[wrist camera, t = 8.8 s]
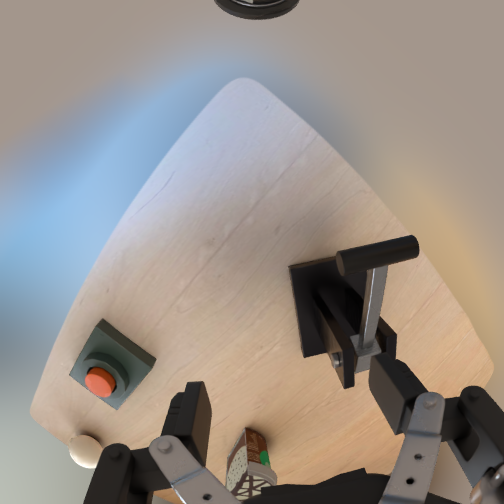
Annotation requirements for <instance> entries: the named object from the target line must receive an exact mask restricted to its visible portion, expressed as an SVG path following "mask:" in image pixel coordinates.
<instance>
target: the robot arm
mask: <svg viewBox="0 0 504 504" xmlns="http://www.w3.org/2000/svg"><path fill="white" fill-rule="evenodd" d="M230 1H231V2H233V3H235V4H237V5H240V6H243V7H248V8H269V7H273V6H277V5H279V4H281V3H283V2H285V1H286V0H230ZM369 388H370V391H371V393H372V395H373V396H374V398H375V400H376V402H377V403H378V405H379V407H380V409H381V410H382V412H383V414H384V416H385V418H386V419H387V421H388V423H389V425H390V426H391V428H392V430H393V432H394V434H395V435H398V434H401V433H404V434H405V439H404V442H403V445H402V447H401V450H400V453H399V456H398V458H397V461H396V464H395V466H394V469H393V471H392V474H391V476H388V475H384V474H376V473H369V474H367V473H366V471H365V468H361V469H358V470H354V471H350V472H346V473H342V474H339V475H337V476H335V477H332V478H330V479H328V480H326V481H323V482H321V483H318V484H316V485H295V484H284V485H276V486H267V487H261V493H260V494H257V495H254V496H252V497H250V498H248V499H246V500H244V501H242V502H240V501H239V500H238V499H237V498H236V497H235V496H234V495H233V494H232V493H231V492H230V491H229V490H228V489H227V488H226V487H225V486H224V485H223V484H222V483H221V482H220V481H219V480H218V479H217V478H216V477H215V476H214V475H213V474H212V473H211V472H210V471H209V470H208V469H207V468H206V467H205V466H206V458H207V449H208V441H209V433H210V425H211V417H212V410H211V404H210V401H209V397H208V394H207V391H206V387H205V384H204V382H203V381H198V382H187V385H186V388H185V392H178V393H177V394H176V395H175V396H174V397H173V399H172V400H171V403H170V407H169V410H168V415H167V416H166V419H165V423H164V426H163V429H162V433H161V436H160V437H158V438H156V439H154V440H153V441H152V442H151V443H150V445H149V447H147V448H142V449H136V450H130V449H129V448H128V447H127V446H126V445H124V444H120V443H116V444H111V445H109V446H107V447H106V448H105V449H104V450H103V451H102V453H101V455H100V458H99V461H98V463H97V466H96V469H95V472H94V474H93V477H92V480H91V483H90V485H89V488H88V491H87V494H86V497H85V500H84V503H83V504H152V497H153V492H154V491H157V490H163V489H169V488H173V489H174V491H175V492H176V493H177V495H178V496H179V497H180V499H181V500H182V501H183V503H184V504H460V503H457V502H454V501H451V500H448V499H445V498H443V497H440V496H437V495H435V494H432V493H429V492H428V489H429V486H430V483H431V479H432V476H433V472H434V468H435V464H436V460H437V456H438V452H439V447H440V443H441V442H444V441H447V443H448V445H449V446H450V448H451V450H452V451H453V453H454V455H455V457H456V458H457V460H458V462H459V464H460V465H461V467H462V469H463V471H464V473H465V474H466V476H467V478H468V480H469V482H470V484H471V486H472V487H473V490H472V491H471V493H470V502H471V504H504V412H503V411H502V409H501V408H500V407H499V406H498V405H497V404H496V402H494V400H493V399H492V398H491V397H490V396H489V394H488V393H487V392H486V391H485V390H484V389H483V388H481V387H479V386H468V387H466V388H464V389H463V390H462V392H461V395H460V397H453V398H446V399H444V398H443V396H442V395H440V394H438V393H435V392H428V390H427V389H426V388H425V387H424V385H423V384H422V383H421V382H420V381H419V379H418V378H417V377H416V376H415V375H414V373H413V372H412V371H411V370H410V368H409V367H408V366H407V365H406V364H405V363H404V362H402V361H400V360H398V359H396V360H393V359H392V358H391V357H390V356H389V354H388V353H387V352H385V353H381V354H377V355H373V356H371V360H370V371H369ZM203 467H204V468H203Z"/></svg>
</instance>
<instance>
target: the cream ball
mask: <svg viewBox="0 0 504 504" xmlns="http://www.w3.org/2000/svg"><path fill="white" fill-rule="evenodd" d="M68 449H69V452H70V455H71V457H72V458H73V460H75V462H76V463H78V464H79V465H81V466H83V467H85V468H95V467H96V466H97V463H98V461H99V458H100V455H101V453H102V451H103V449H102V447H101V445H100V444H99V443H98V442H97V441H96V440H95V439H93V438H92V437H90V436H86V435H80V436H77V437H75V438H71V440H70V442H69V443H68Z"/></svg>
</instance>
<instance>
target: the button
mask: <svg viewBox="0 0 504 504" xmlns="http://www.w3.org/2000/svg"><path fill="white" fill-rule="evenodd" d="M85 383H86V386H87V387H88V389H89V390H90V391H91V392H92V393H94V394H95V395H97V396H100V397H108V396H110V395H111V393H112V391H113V389H114V388H115V385H116V383H115V379H114V377H113V376H112V375H111V374H110V373H109V372H108V371H106V370H105V369H103V368H100V367H94V368H92V369H91V370H90V371H89V373H88V374H87V376H86V377H85Z"/></svg>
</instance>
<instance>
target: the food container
mask: <svg viewBox="0 0 504 504" xmlns="http://www.w3.org/2000/svg"><path fill="white" fill-rule="evenodd" d="M276 484H277V475H276V473H275V472H274V471H273V470H272V469H271V466H270V461H269V456H268V451H267V446H266V441H265V439H264V437H263V436H262V435H261V434H260V433H258V432H256V431H254V430H251V429H248V428H245V429H244V430H243V432H242V434H241V436H240V437H239V439H238V441H237V442H236V444H235V446H234V448H233V449H232V451H231V453H230V454H229V456H228V458H227V471H226V484H225V487H226V488H227V489H228V490H229V491H230V492H231V493H232V494H233V495H234V496H235V497H236V498H237V499H238V500H239V501H240V502H242V501H244V500H246V499H248V498H250V497H252V496H254V495H257V494H260V493H261V487H267V486H276Z"/></svg>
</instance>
